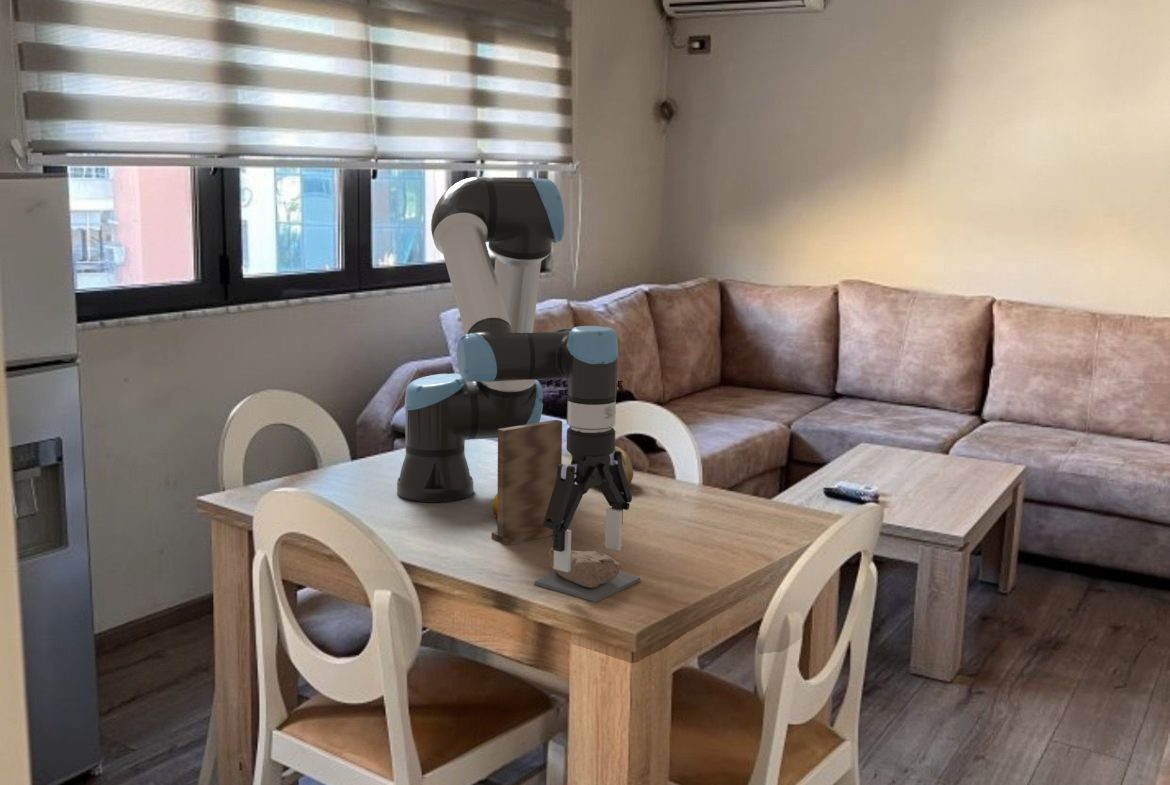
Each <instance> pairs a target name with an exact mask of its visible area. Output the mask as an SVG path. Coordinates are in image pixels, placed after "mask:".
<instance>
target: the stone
mask: <svg viewBox="0 0 1170 785" xmlns="http://www.w3.org/2000/svg"><path fill="white" fill-rule="evenodd" d="M547 556H548V559H549V563H550V565H551V569H552V570H553V571H554V572H558V574H559V575H561V576H562V577H563V578H565V579H567V580H570V581H572V582H574V583H576V584H579V585H582V586H585V587H590V588H594V587H597V586H599V584H604V583H608V582H609V581H611V580H612V579H614V578H615V577H616V576H617V575H618V573H619V572H621V562H620V561H616V560H615V559H614V558H613V557H611V556H610V555H609V554H605V553H603V552H599V551H594V550H592V551H591V550H590V551H587V550H586V551H585V550H584V551H581V550H574V549H571V570H570V572H564V571H561V570H557V569H554V550H553V547H551V548H550V549H549V551H548V554H547Z"/></svg>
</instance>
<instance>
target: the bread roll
mask: <svg viewBox="0 0 1170 785" xmlns="http://www.w3.org/2000/svg"><path fill="white" fill-rule="evenodd" d="M615 450H616V451H621V453H622V465H623V468H624V472H625V475H626V479H627V482H628V485H629V486H630V485H631V483H632V480H633V478H634V468H633V465H632V460H631V458H630V455H628V453H627V452H626V451H625V450H624V449H622V448H621V447H619V446H618V445H617V446H616V445H615Z"/></svg>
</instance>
